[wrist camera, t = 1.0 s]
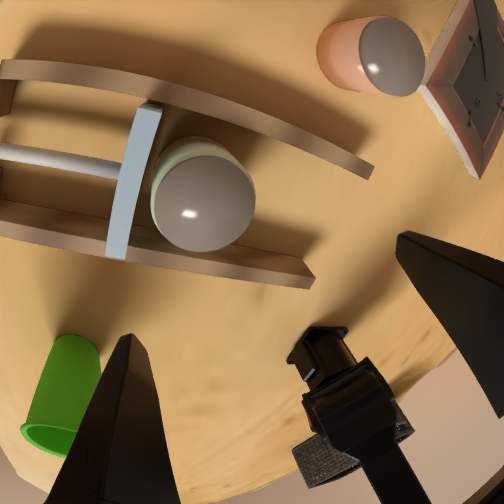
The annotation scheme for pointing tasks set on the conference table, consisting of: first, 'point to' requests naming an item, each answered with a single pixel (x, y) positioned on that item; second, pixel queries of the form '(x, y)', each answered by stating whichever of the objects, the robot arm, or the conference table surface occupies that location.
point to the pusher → (105, 171)
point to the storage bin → (336, 455)
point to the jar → (372, 56)
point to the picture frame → (469, 81)
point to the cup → (62, 395)
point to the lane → (147, 239)
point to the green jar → (201, 195)
